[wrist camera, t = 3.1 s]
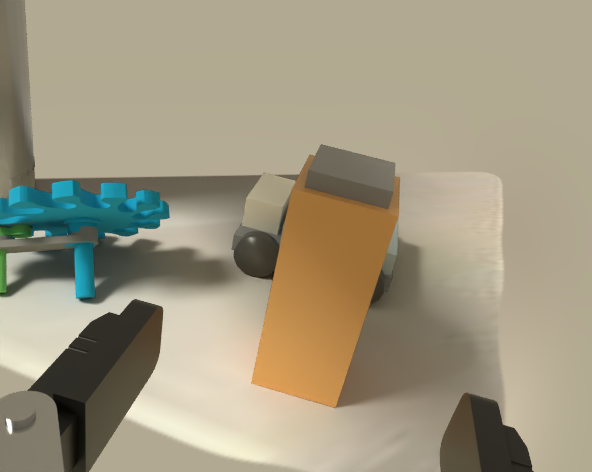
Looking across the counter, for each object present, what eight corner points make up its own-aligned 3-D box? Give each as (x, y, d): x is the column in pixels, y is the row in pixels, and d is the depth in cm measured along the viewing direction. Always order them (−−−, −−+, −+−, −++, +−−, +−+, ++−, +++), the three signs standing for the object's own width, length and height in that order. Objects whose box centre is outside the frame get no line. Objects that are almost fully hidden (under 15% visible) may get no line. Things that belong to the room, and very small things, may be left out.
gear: (169, 215, 37) (165, 164, 27) (176, 298, 35) (173, 275, 26) (-3, 226, 34) (-74, 174, 24) (-2, 316, 33) (-77, 297, 23)
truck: (225, 268, 35) (234, 212, 33) (261, 209, 44) (270, 161, 42) (382, 312, 34) (401, 257, 32) (387, 242, 43) (403, 195, 41)
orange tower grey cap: (335, 407, 26) (404, 198, 20) (251, 383, 27) (295, 170, 21) (344, 351, 30) (404, 162, 24) (271, 330, 31) (313, 139, 25)
